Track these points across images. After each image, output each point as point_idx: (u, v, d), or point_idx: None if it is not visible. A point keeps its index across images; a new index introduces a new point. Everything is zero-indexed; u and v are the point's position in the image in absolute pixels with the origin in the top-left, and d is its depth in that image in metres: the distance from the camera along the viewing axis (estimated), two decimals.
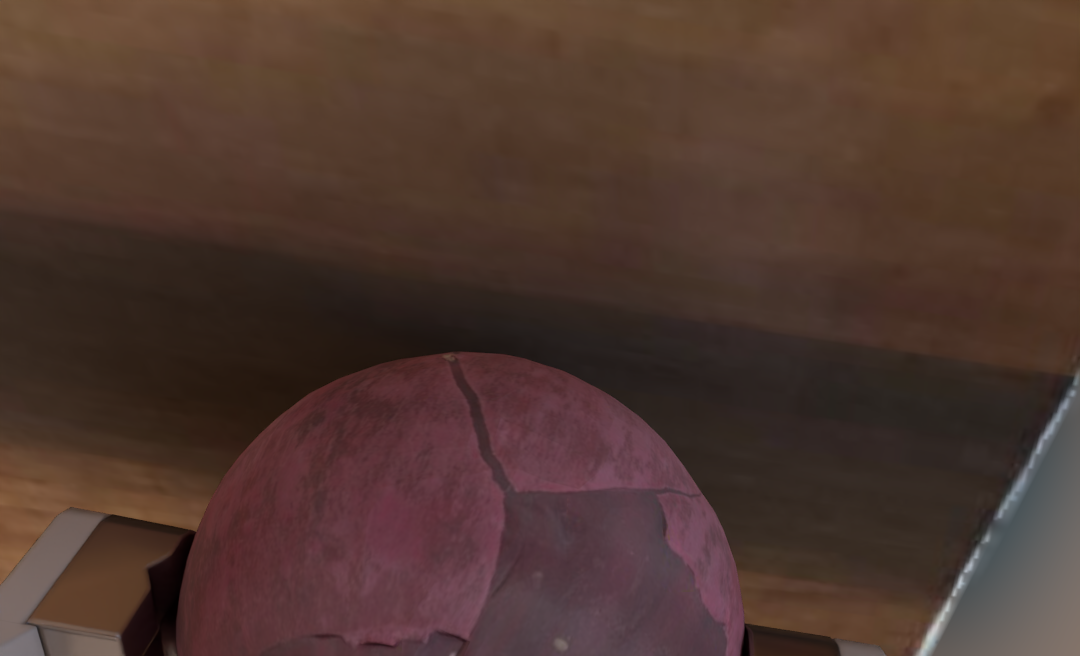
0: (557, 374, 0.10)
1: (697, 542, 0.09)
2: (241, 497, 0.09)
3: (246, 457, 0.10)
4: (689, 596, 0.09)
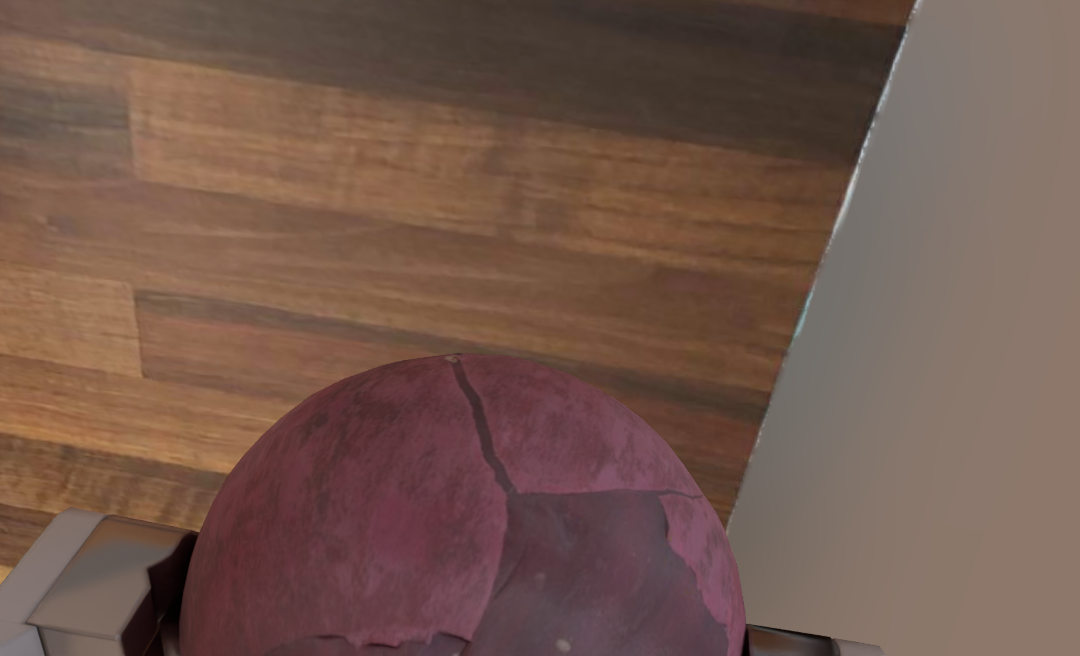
0: (559, 376, 0.10)
1: (700, 543, 0.09)
2: (244, 498, 0.09)
3: (249, 458, 0.10)
4: (690, 597, 0.09)
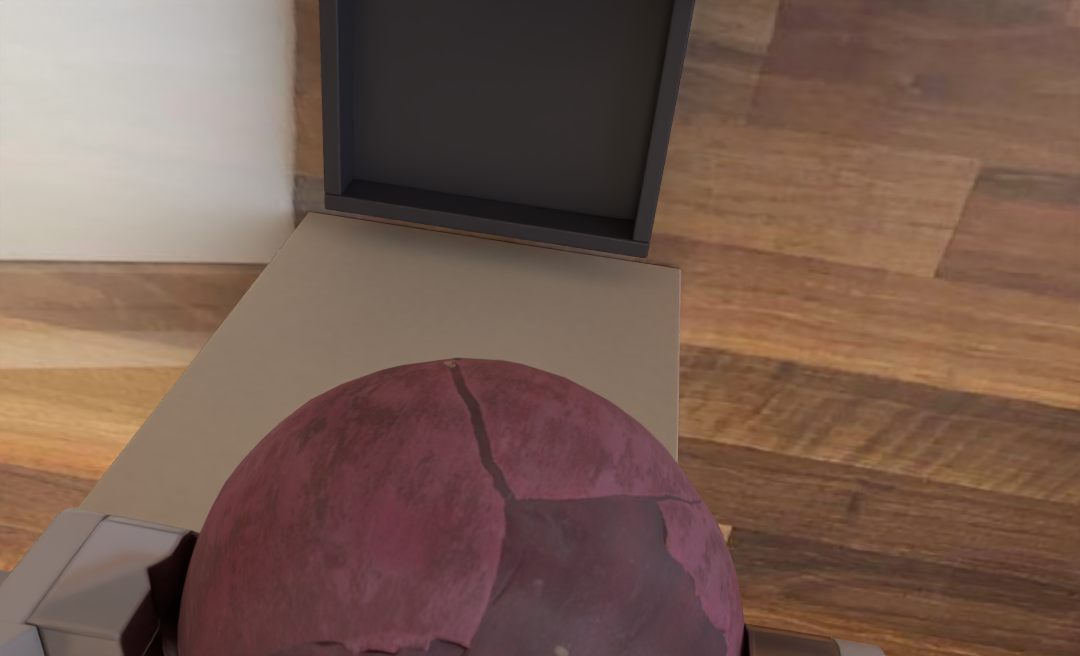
0: (558, 381, 0.10)
1: (698, 549, 0.09)
2: (243, 503, 0.09)
3: (248, 463, 0.10)
4: (688, 603, 0.09)
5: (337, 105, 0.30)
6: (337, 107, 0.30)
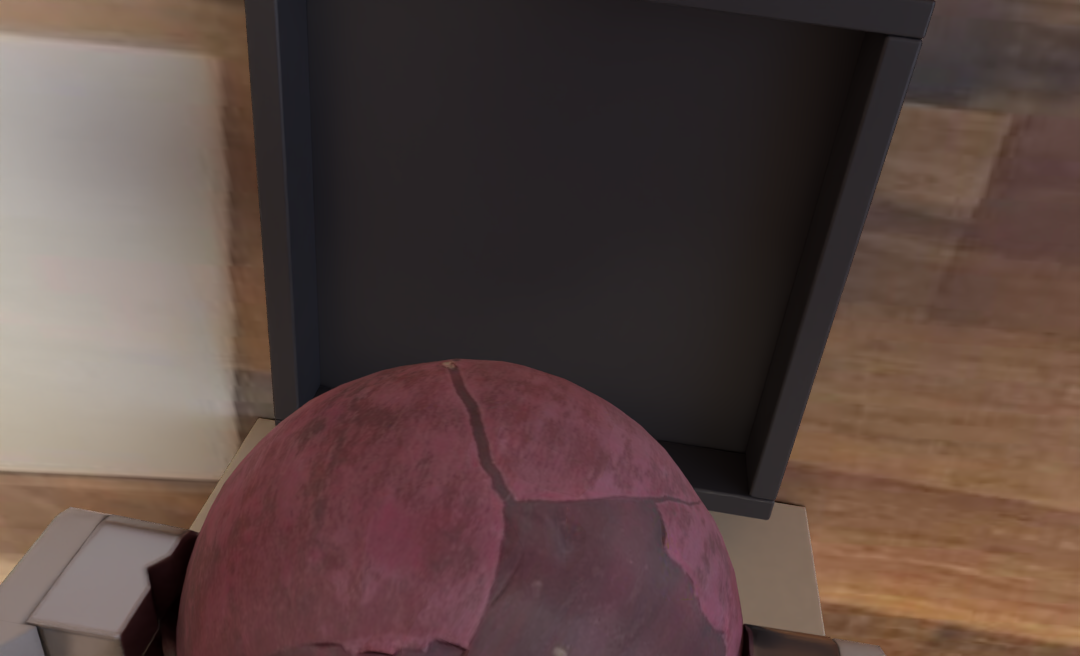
0: (557, 382, 0.10)
1: (697, 550, 0.09)
2: (241, 504, 0.09)
3: (246, 464, 0.10)
4: (687, 605, 0.09)
5: (290, 301, 0.19)
6: (290, 304, 0.19)
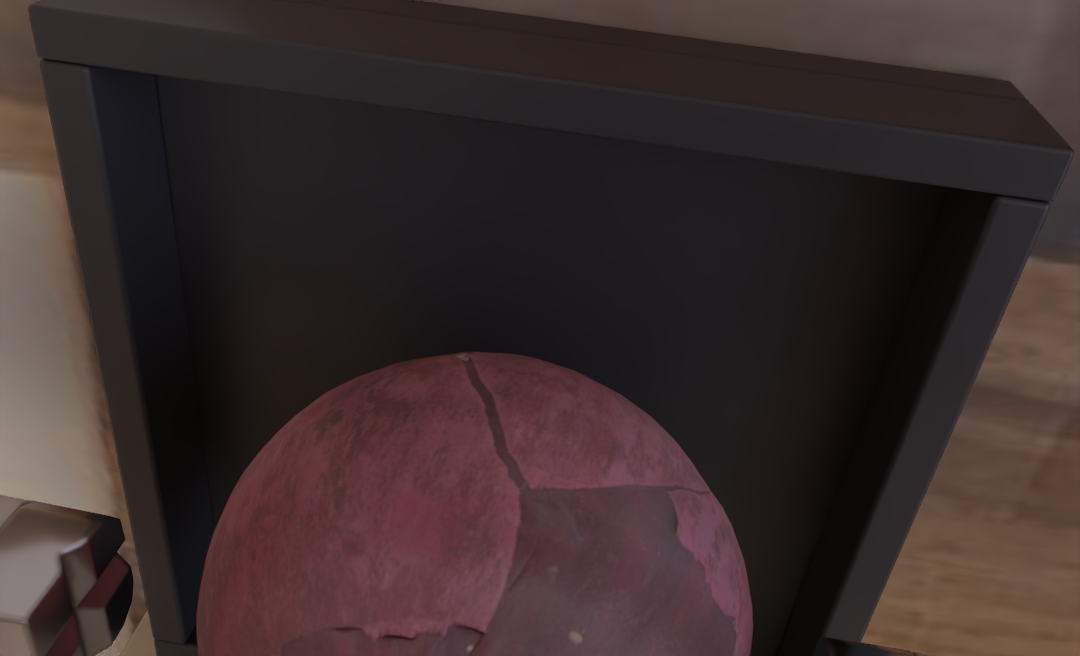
0: (569, 374, 0.11)
1: (707, 538, 0.09)
2: (260, 493, 0.09)
3: (265, 455, 0.10)
4: (698, 590, 0.09)
5: (158, 508, 0.14)
6: (158, 511, 0.14)
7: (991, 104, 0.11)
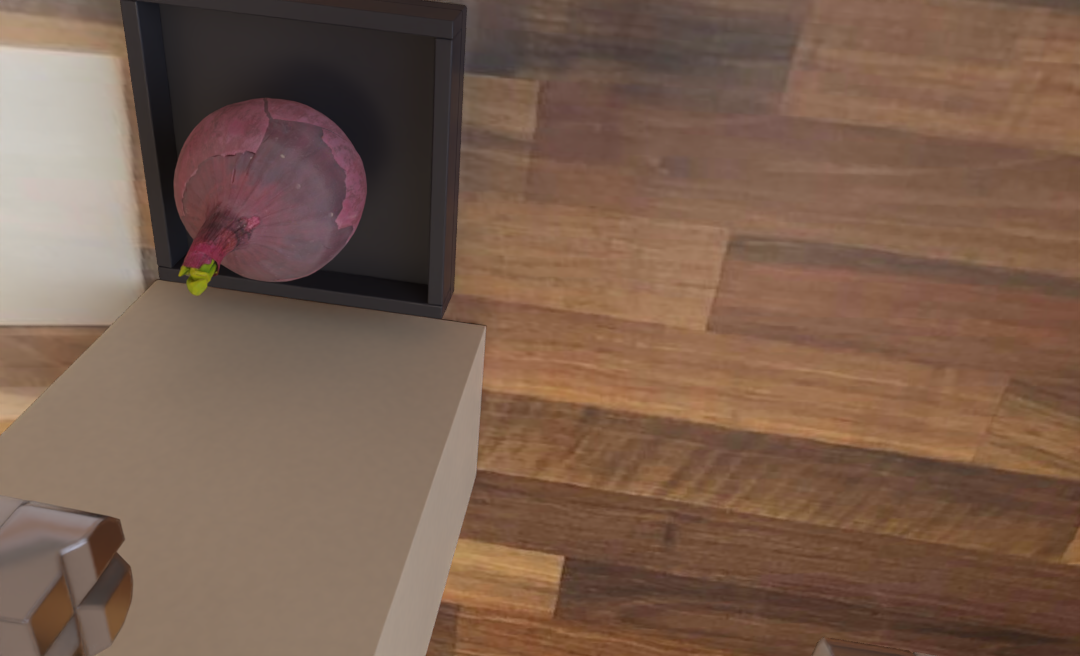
0: (301, 103, 0.31)
1: (335, 143, 0.30)
2: (193, 131, 0.30)
3: (196, 126, 0.30)
4: (328, 154, 0.29)
5: (160, 191, 0.34)
6: (160, 192, 0.34)
7: (445, 10, 0.31)
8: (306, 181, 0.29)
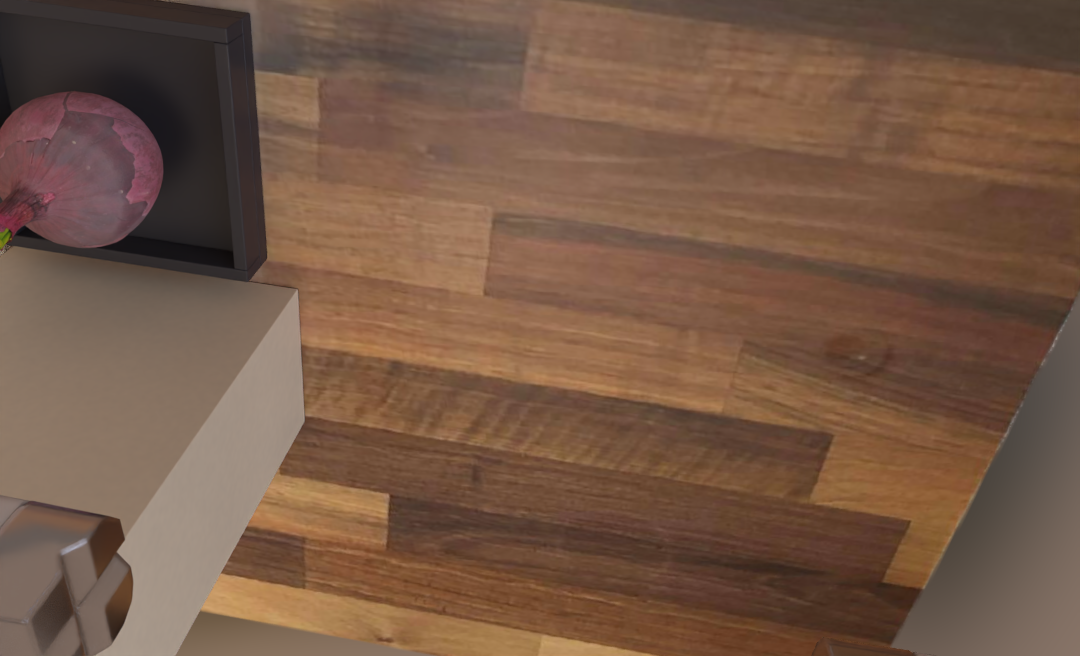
0: (102, 96, 0.36)
1: (125, 131, 0.35)
2: (6, 119, 0.35)
3: None
4: (116, 141, 0.35)
5: None
6: None
7: (225, 18, 0.36)
8: (95, 163, 0.34)
